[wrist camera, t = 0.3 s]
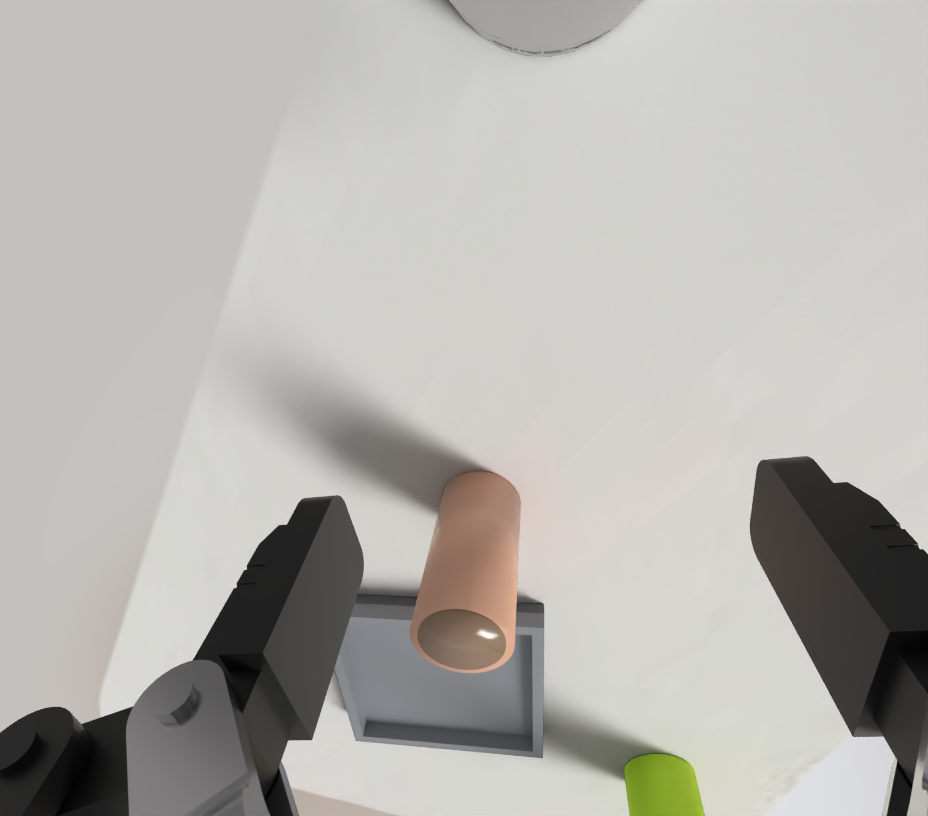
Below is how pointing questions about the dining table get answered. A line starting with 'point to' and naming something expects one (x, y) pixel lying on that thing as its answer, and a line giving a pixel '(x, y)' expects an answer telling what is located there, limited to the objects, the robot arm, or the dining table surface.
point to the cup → (470, 577)
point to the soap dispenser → (662, 787)
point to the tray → (439, 686)
